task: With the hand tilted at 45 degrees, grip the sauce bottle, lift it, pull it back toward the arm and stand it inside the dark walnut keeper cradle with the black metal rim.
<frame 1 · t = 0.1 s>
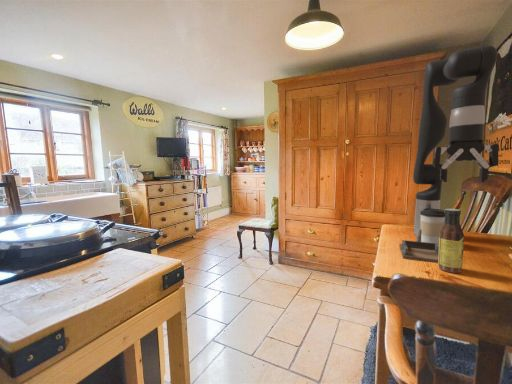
hand: (462, 181, 72), 29 cm above the table, tool pointing down, fingers open, 8 cm apart
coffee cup: (431, 244, 105), on the table
keeper cradle: (421, 255, 93), on the table
sauce bottle: (449, 270, 81), on the table
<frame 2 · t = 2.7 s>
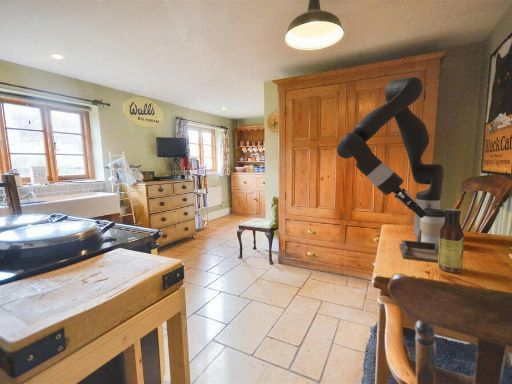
hand: (421, 213, 82), 18 cm above the table, tool tilted 45°, fingers open, 8 cm apart
nothing on the table moved.
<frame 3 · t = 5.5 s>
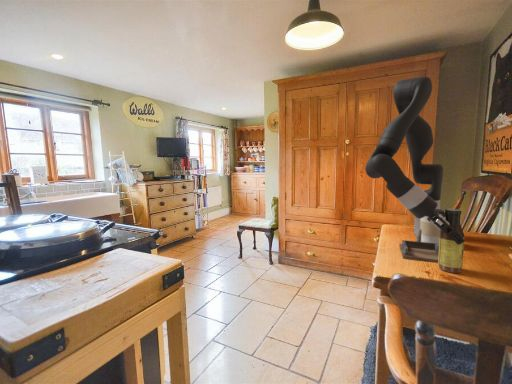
hand: (458, 239, 79), 10 cm above the table, tool tilted 45°, fingers closed on sauce bottle, 6 cm apart
sauce bottle: (449, 270, 81), on the table, touching gripper
everything else where it was.
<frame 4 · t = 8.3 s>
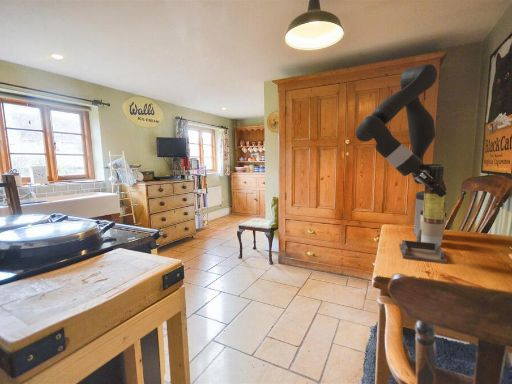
hand: (440, 193, 85), 24 cm above the table, tool tilted 45°, fingers closed on sauce bottle, 6 cm apart
sauce bottle: (432, 223, 87), point 13 cm above the table, touching gripper
everything else where it was.
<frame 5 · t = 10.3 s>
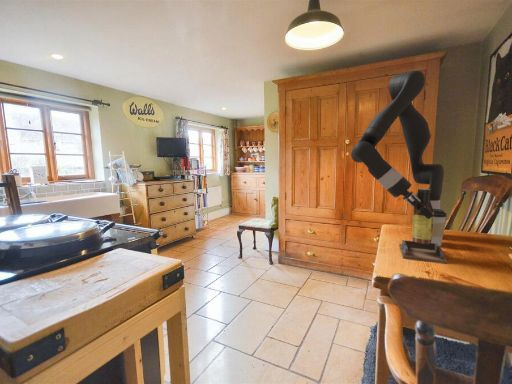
hand: (428, 215, 91), 15 cm above the table, tool tilted 45°, fingers closed on sauce bottle, 6 cm apart
sauce bottle: (421, 242, 92), point 5 cm above the table, touching gripper
everything else where it was.
when the fingers open (12 cm above the table, at t = 11.5 s): sauce bottle stays where it is, resting on keeper cradle.
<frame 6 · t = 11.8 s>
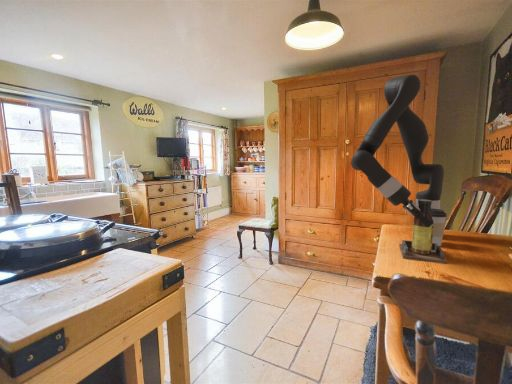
hand: (427, 222, 91), 13 cm above the table, tool tilted 45°, fingers open, 8 cm apart
sauce bottle: (420, 252, 93), point 1 cm above the table, touching keeper cradle
everything else where it was.
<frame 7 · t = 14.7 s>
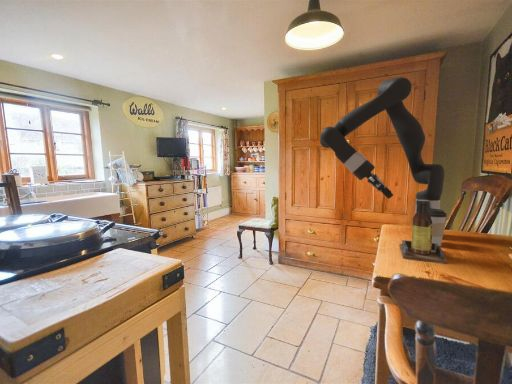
hand: (390, 195, 95), 22 cm above the table, tool tilted 45°, fingers open, 8 cm apart
nothing on the table moved.
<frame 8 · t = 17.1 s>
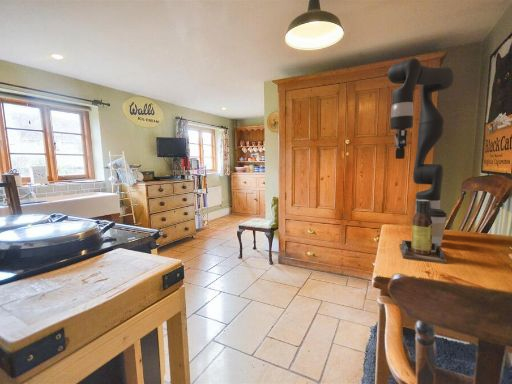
hand: (399, 158, 97), 36 cm above the table, tool pointing down, fingers open, 8 cm apart
nothing on the table moved.
at the end: sauce bottle 0.2 cm off-centre on the keeper cradle, point 0.8 cm above the keeper cradle's base; sauce bottle tilted 0°; the gripper is holding nothing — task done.
